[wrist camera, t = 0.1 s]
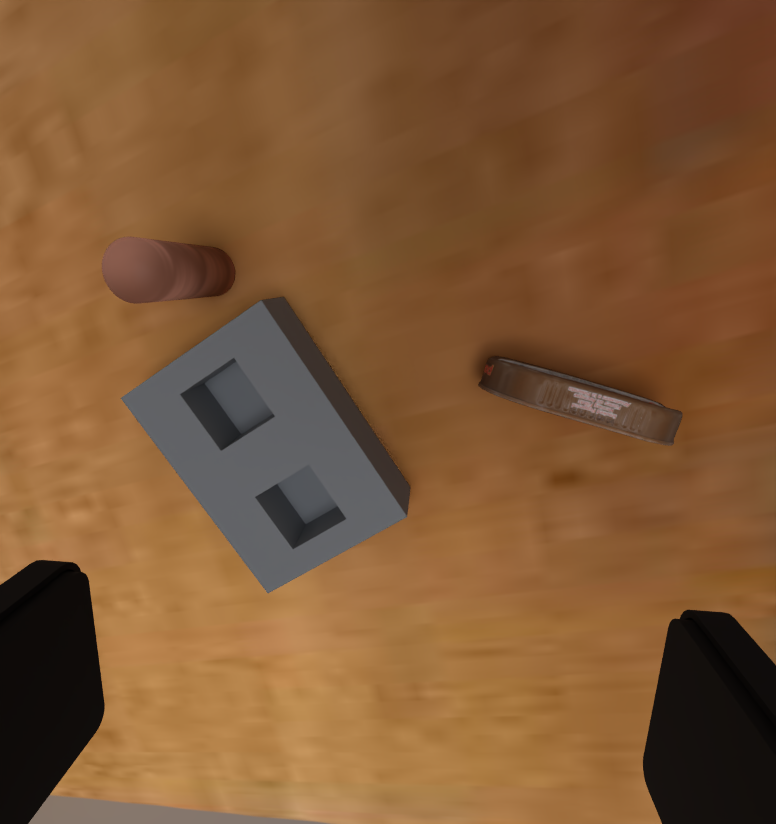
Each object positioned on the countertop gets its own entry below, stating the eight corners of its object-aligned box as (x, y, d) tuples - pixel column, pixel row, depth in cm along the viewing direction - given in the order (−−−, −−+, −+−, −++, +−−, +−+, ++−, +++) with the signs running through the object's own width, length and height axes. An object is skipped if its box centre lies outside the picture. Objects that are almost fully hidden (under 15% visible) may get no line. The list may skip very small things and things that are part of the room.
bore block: (159, 383, 47) (120, 398, 41) (283, 296, 44) (261, 300, 38) (287, 556, 50) (267, 593, 45) (410, 487, 47) (407, 516, 42)
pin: (179, 264, 44) (89, 260, 33) (215, 237, 43) (136, 223, 32) (207, 305, 45) (129, 315, 33) (244, 279, 44) (176, 280, 33)
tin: (473, 379, 45) (481, 402, 37) (485, 343, 44) (496, 359, 36) (644, 428, 44) (690, 463, 36) (659, 394, 44) (710, 421, 36)
